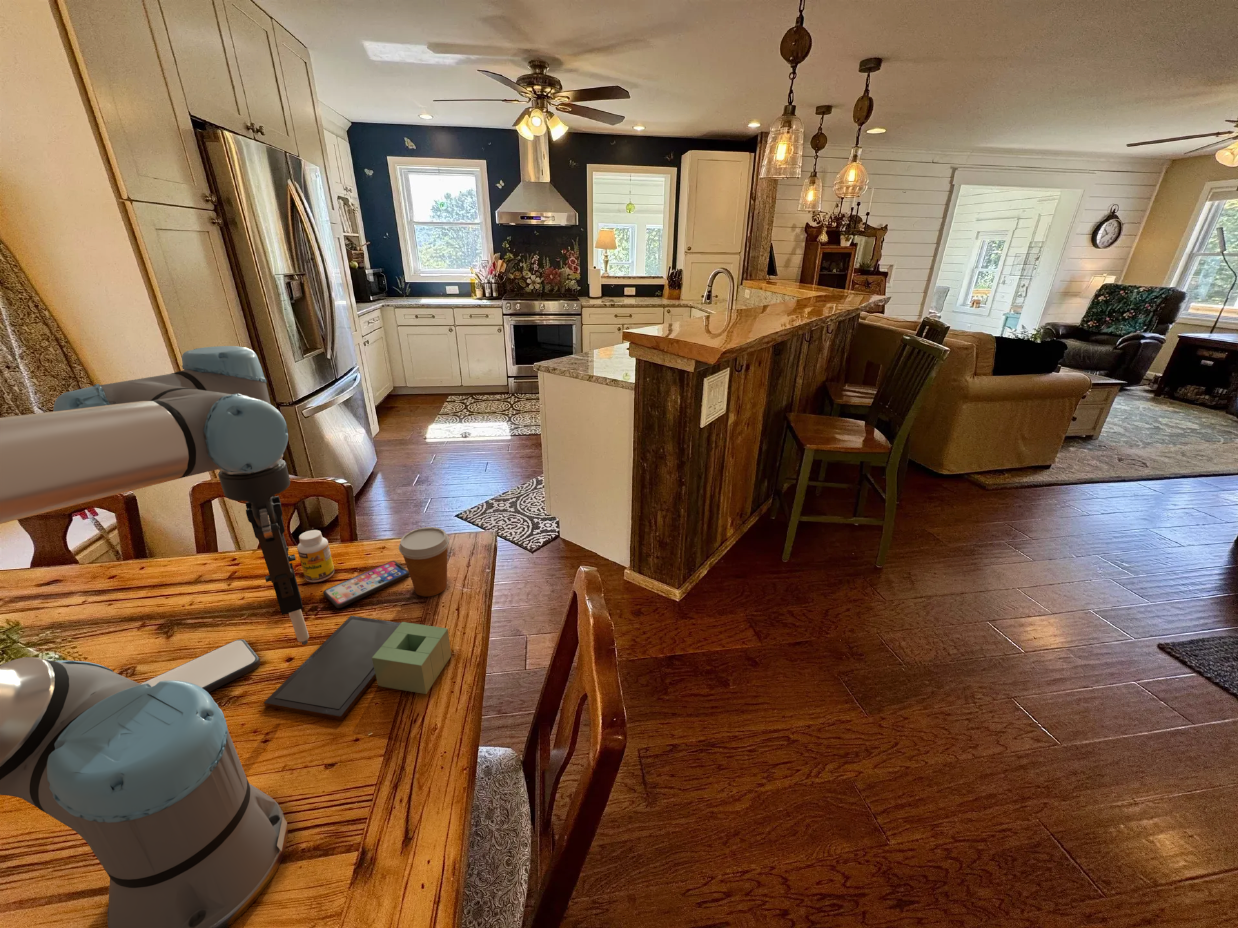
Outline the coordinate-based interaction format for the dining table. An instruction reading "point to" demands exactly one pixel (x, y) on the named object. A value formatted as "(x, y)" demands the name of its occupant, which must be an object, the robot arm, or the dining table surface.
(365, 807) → the dining table surface
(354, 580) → the smartphone
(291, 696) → the tablet
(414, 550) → the disposable coffee cup
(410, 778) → the dining table surface
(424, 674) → the pen stand
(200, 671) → the phone case
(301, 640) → the stylus
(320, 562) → the supplement bottle
